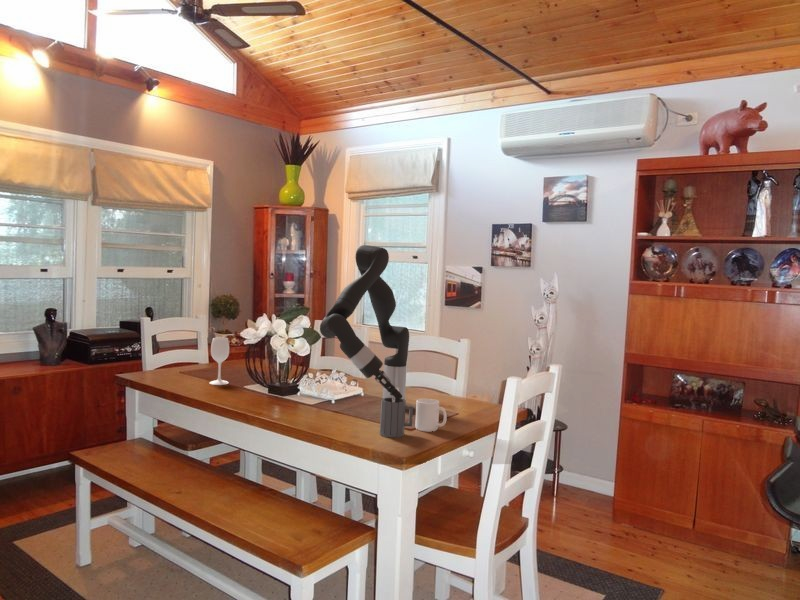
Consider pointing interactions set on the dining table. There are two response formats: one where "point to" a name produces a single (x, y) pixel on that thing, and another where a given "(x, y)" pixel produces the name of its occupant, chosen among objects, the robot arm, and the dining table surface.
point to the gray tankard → (394, 417)
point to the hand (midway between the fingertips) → (399, 396)
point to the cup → (428, 415)
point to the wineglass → (219, 356)
